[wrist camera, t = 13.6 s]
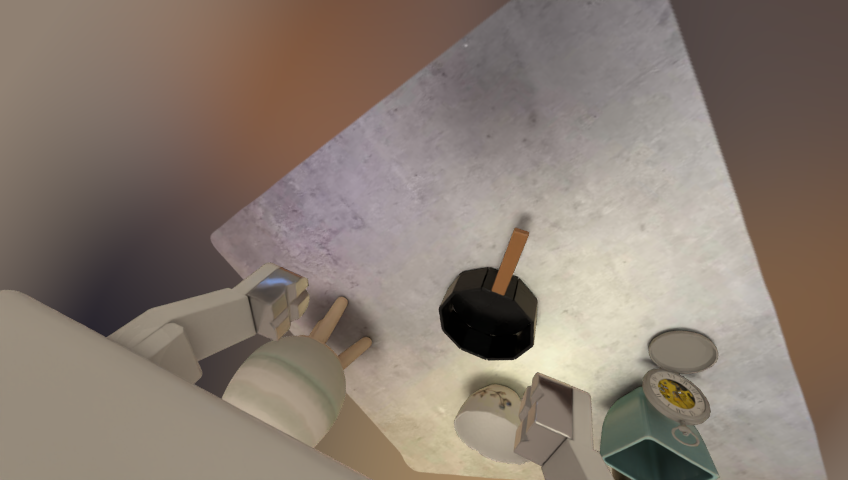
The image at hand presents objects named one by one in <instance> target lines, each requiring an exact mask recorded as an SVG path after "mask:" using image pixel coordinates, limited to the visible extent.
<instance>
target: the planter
mask: <svg viewBox="0 0 848 480" xmlns="http://www.w3.org/2000/svg"><path fill="white" fill-rule="evenodd" d="M347 305H348V301H347V299H346V298H344V297H339V298H337V300H336V301H335V302H334V304H333V305H332V307H331V308H330V310H329V311H328V313H327V314H326V316H325V317H324V319H323V320H319V321H318V323H317V324H316V325H315V327H314V328H313V330H312V332H311V333H310V335H309V336H306V335H299V336H287V337H283V338H280V339H279V340H278V341H277V342H276V341H274V340H272V341H270V342H268V343H266V344H265V345H263V346H261V347H260V348H259V349H257V350H256V351H255V352H254V353H253V354H252V355H250V356H249V357H248V359H247V360H246V361H245V362H244V363H243V364H242V365H241V367H240V368H239V369H238V371H237V372H236V374H235V375H234V376H233V378H232V380H231V381H230V383H229V385H228V387H227V389H226V391H225V393H224V395H223V397H222V400H224V401H226V402H228V403H230V404H232V405H234V406H236V407H237V408H239V409H241V410H243V411H245V412H247V413H249V414H251V415H252V416H254V417H256V418H258V419H260V420H262V421H264V422H266V423H267V424H269V425H271V426H273V427H275V428H277V429H279V430H281V431H283V432H284V433H286V434H288V435H290V436H292V437H294V438H296V439H298V440H299V441H301V442H303V443H305V444H307V445H309V446H311V447H312V448H314V447H315V446H316V445H317V444H318V443H319V442H320V440H321V439H322V438H323V437H324V436H325V435H326V433H327V432H328V431H329V430H330V428H331V427H332V425H333V424H334V422H335V421H336V419H337V417H338V415H339V413H340V411H341V409H342V406H343V403H344V399H345V393H346V382H345V375H344V371H343V370H344V369H345V368H346V367H348V366H349V365H350V364H351V363H352V362H353V361H354V360H355V359H356V358H358V357H359V356H360V355H361V354H362V353H363V352H365V351H366V350H367V349H368V348H369V347H370V346H371V344H372V341H371V339H370V338H368V337H363V338H362V339H361V340H359V341H358V342H356V343H355V344H353V345H352V346H351V347H349V348H348V349H346V350H345V351H344V352H342V353H341V354H340V355H338V356H337V354H336V353H335V352H334V351H333V350H332V349H331V348H330V347H329V346H327V345H326V344H325V343H326V342H327V340H328V338H329V337H330V335H331V333H332V332H333V330H334V328H335V326H336V325H337V323H338V321H339V319H340V317H341V316H342V314H343V312H344V310H345V308H346V307H347Z"/></svg>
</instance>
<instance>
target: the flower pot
mask: <svg viewBox="0 0 848 480" xmlns="http://www.w3.org/2000/svg"><path fill="white" fill-rule="evenodd" d="M679 425H680V423H678V422H675V421H673V420H672V419H670V418H668V417H666V416H665V415H663V414H662V413H661V412H659V411H658V410H657V409H656V408H655V407H654V406H653V405H652V404H651V403H650V401H649V400H648V399H647V397H646V395H645V393H644V391H643V387H638V388H636V389H635V390H633V391H631V392H630V393H628V394H627V395H625V396H623V397H622V398H620V399H618V400H617V401H616V402H615V403H614V404H613V406H612V407H611V408H610V410H609V411H608V413H607V415H606V417H605V419H604V423H603V427H602V435H601V445H600V455H601V456H602V458H603V460H604V462H605V464H606V465H608V466H610V467H612V468H613V469H615V470H617V471H618V472H620V473H622V474H623V475H625V476H627V477H628V478H630V479H632V480H717V479H718V478H720V476H719V474H718V472H717V470H716V467H715V465H714V463H713V461H712V458H711V456H710V454H709V452H708V450H707V447H706V445H705V443H704V441H703V439H702V437H701V435H700V433H699V432H698V430H697V429H696V427H695V426H694V425H686V426H687V427H689V428H690V429H691V431H692V432H693V433H694V434H695V435H696V436H697V437H698V438H699V441H700V444H699V445H698V446H687V445H684V444H682V443H680V442H679V441H678V440H676V439H675V438H674V437H673V435H672V433H671V430H672V428H674V427H678V426H679ZM674 433H675V435H676V437H677V438H678V439H679V440H681V441H683V442H685V443H687V444H695V443H696V438H695V437H694V436H693V435H692V434H691V433H690V434H689V435H688V436H685V435H683V432H681V431H680V430H679V429H677V430H675V432H674Z"/></svg>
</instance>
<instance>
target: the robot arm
mask: <svg viewBox="0 0 848 480" xmlns="http://www.w3.org/2000/svg"><path fill="white" fill-rule="evenodd" d="M308 286H309V285H308V279H307V278H305V277H303V276H301V275H298V274H296V273H294V272H292V271H289V270H287V269H285V268H283V267H280V266H278V265H275V264H273V263H271V262H270V263H266V264H264V265H263V266H262V267H260V268H259V269H258V270H256V271H255V272H254V273H252V274H251V275H250V276H249V277H247V278H246V279H245V280H243V281H242V282H241V283H239V284H238V285H237V286H235V287H234V288H233V289H230V288H226V289H222V290H218V291H215V292H211V293H207V294H204V295H200V296H196V297H192V298H189V299H185V300H182V301H178V302H174V303H170V304H166V305H163V306H159V307H155V308H152V309H149V310H147V311H146V312H144V313H143V314H142V315H140V316H138V317H137V318H135V319H134V320H132V321H131V322H129V323H128V324H126V325H125V326H123V327H122V328H120V329H119V330H117V331H116V332H114V333H113V334H111V335H110V336H108V337H107V338H106V337H104V336H102V335H101V334H99V333H97V332H95V331H93V330H91V329H89V328H87V327H85V326H84V325H82V324H80V323H78V322H76V321H74V320H72V319H70V318H68V317H67V316H65V315H63V314H61V313H59V312H57V311H55V310H53V309H52V308H50V307H48V306H46V305H44V304H42V303H40V302H38V301H37V300H35V299H33V298H31V297H29V296H27V295H26V294H23V293H21V292H18V291H13V290H1V291H0V480H372V479H371V478H368V477H367V476H365V475H363V474H361V473H359V472H357V471H356V470H354V469H352V468H350V467H348V466H346V465H344V464H342V463H340V462H339V461H337V460H335V459H333V458H331V457H329V456H327V455H326V454H324V453H322V452H320V451H318V450H316V449H314V448H312V447H311V446H309V445H307V444H305V443H303V442H301V441H299V440H298V439H296V438H294V437H292V436H290V435H288V434H286V433H284V432H283V431H281V430H279V429H277V428H275V427H273V426H271V425H269V424H267V423H266V422H264V421H262V420H260V419H258V418H256V417H254V416H252V415H251V414H249V413H247V412H245V411H243V410H241V409H239V408H237V407H236V406H234V405H232V404H230V403H228V402H226V401H224V400H222V399H220V398H219V397H217V396H215V395H213V394H211V393H209V392H207V391H205V390H204V389H202V388H200V387H198V386H196V385H194V383H195V382H197V381H198V379H200V377H202V370H201V368H200V366H199V363H198V361H199V360H201V359H203V358H206V357H208V356H210V355H212V354H214V353H216V352H219V351H221V350H223V349H225V348H227V347H229V346H232V345H234V344H236V343H238V342H240V341H243V340H245V339H247V338H249V337H251V336H254V335H256V333H258V334H260V335H262V336H265V337H267V338H269V339H272V340H274V341H276V342H277V341H278V340H279V339H280V338H281V337H282V336H283V335H284V334H285V333H286V332H287V331H288V330H289V329H290V326H291V322H292V321H294V320H297V319H299V318H300V317H301V316H302V315H303V314H304V312H305V311H306V309H307V307H308V304H309V300H310V299H309V294H308V292H307V290H306V288H307V287H308ZM518 416H519V419H520V421H521V424H520V425H519V427H518V428H517V430H516V436H515V443H514V451H513V452H514V453H516V454H518V455H520V456H522V457H524V458H526V459H528V460H530V461H532V462H534V463H536V464H538V465H540V466H542V467H541V469H542V472H543V475H544V477H545V480H614V478H613V476H612V474H611V472H610V471H609V469H608V467H607V465H606V464H605V462H604V460H603V458H602V456H601V455H600V453H599V452H598V451H596V450H594V448H593V428H592V407H591V396H590V394H589V393H588V392H585V391H583V390H580V389H578V388H575V387H573V386H570V385H569V384H566V383H564V382H561V381H559V380H556V379H554V378H551V377H549V376H546V375H544V374H541V373H539V372H537V373H536V374H535V375H534V377H533V379H532V386H528V387H527V389H526V391H525V392H524V395H523V398H522V400H521V404H520V409H519V415H518Z"/></svg>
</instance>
